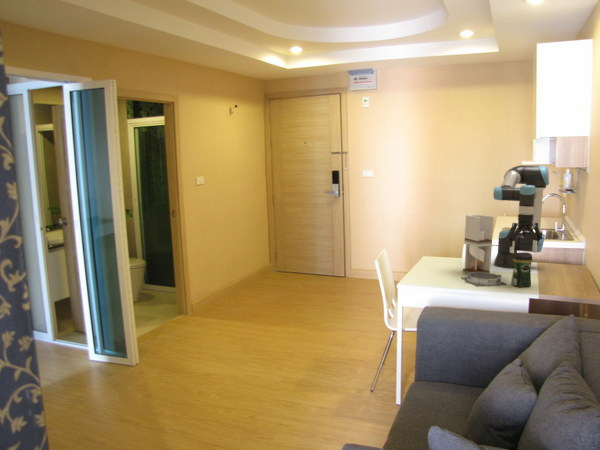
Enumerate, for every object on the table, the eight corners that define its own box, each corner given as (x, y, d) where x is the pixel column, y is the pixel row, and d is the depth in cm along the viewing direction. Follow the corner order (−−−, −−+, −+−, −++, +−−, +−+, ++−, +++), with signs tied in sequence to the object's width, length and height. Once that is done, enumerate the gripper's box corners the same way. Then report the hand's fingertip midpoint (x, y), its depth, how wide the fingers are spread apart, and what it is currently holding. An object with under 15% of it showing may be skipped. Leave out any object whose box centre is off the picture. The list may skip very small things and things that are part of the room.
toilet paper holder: (462, 271, 308) (465, 215, 303) (476, 270, 312) (479, 214, 307) (476, 276, 298) (479, 217, 293) (489, 274, 302) (493, 216, 297)
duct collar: (491, 276, 296) (492, 271, 296) (509, 285, 279) (509, 278, 278) (459, 278, 293) (459, 272, 292) (474, 286, 275) (475, 280, 275)
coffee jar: (525, 283, 282) (527, 251, 279) (532, 287, 274) (535, 254, 271) (508, 283, 281) (510, 251, 278) (516, 287, 273) (518, 254, 270)
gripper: (542, 212, 277) (539, 250, 280) (500, 213, 273) (498, 251, 276) (551, 214, 270) (548, 253, 273) (508, 214, 266) (506, 254, 269)
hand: (523, 252), depth 275 cm, fingers open, 13 cm apart
